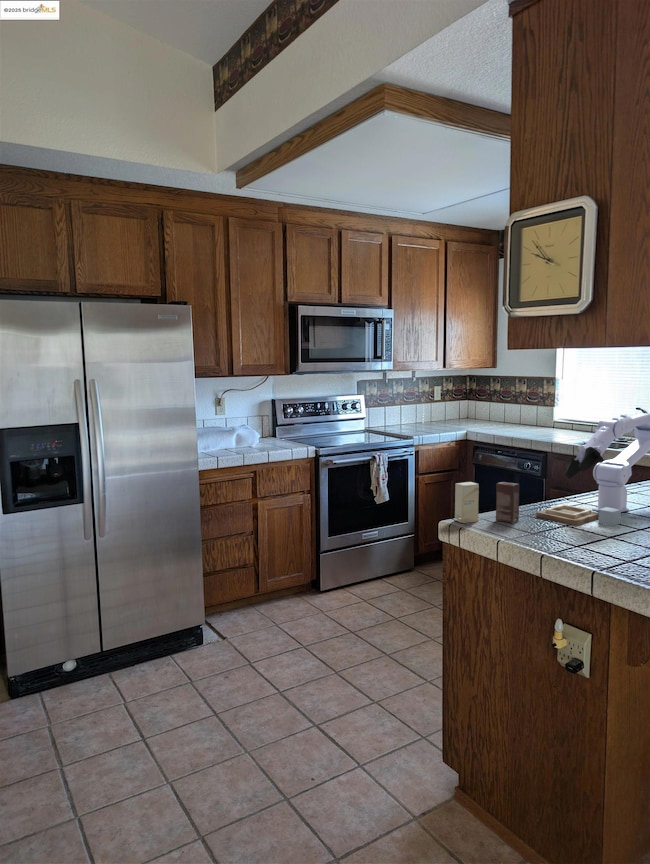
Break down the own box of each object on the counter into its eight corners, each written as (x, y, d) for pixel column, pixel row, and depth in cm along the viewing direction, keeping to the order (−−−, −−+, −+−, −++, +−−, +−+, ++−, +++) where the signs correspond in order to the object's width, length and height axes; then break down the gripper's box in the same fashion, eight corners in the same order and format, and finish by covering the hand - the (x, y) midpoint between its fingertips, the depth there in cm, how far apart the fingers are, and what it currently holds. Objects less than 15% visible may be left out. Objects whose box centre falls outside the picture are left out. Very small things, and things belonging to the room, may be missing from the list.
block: (605, 521, 192) (606, 507, 191) (620, 524, 188) (620, 509, 187) (598, 523, 189) (598, 509, 188) (612, 526, 185) (613, 512, 185)
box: (519, 520, 193) (520, 483, 192) (512, 523, 190) (513, 485, 188) (501, 517, 197) (502, 481, 196) (494, 520, 194) (495, 483, 193)
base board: (560, 509, 206) (561, 502, 206) (600, 517, 195) (600, 510, 195) (536, 516, 198) (536, 509, 197) (576, 525, 187) (576, 517, 186)
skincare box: (462, 523, 191) (463, 485, 189) (454, 520, 195) (454, 483, 193) (479, 521, 193) (479, 483, 192) (470, 518, 197) (470, 481, 196)
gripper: (574, 444, 203) (552, 470, 198) (601, 428, 190) (578, 456, 185) (590, 459, 202) (568, 486, 197) (618, 444, 189) (595, 472, 184)
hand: (574, 472), depth 191 cm, fingers open, 7 cm apart
